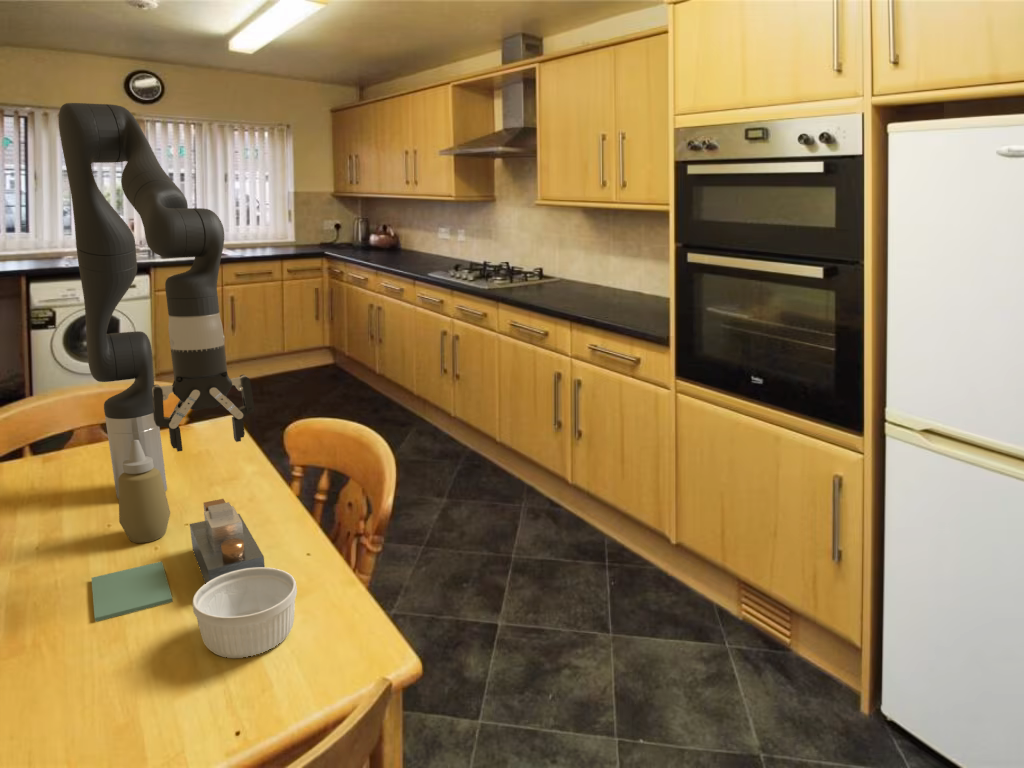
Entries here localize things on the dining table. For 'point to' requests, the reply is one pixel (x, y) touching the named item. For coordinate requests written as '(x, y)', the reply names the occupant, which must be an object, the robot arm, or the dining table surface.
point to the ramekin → (246, 611)
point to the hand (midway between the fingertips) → (208, 445)
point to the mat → (130, 591)
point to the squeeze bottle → (142, 498)
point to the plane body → (224, 550)
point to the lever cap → (222, 524)
